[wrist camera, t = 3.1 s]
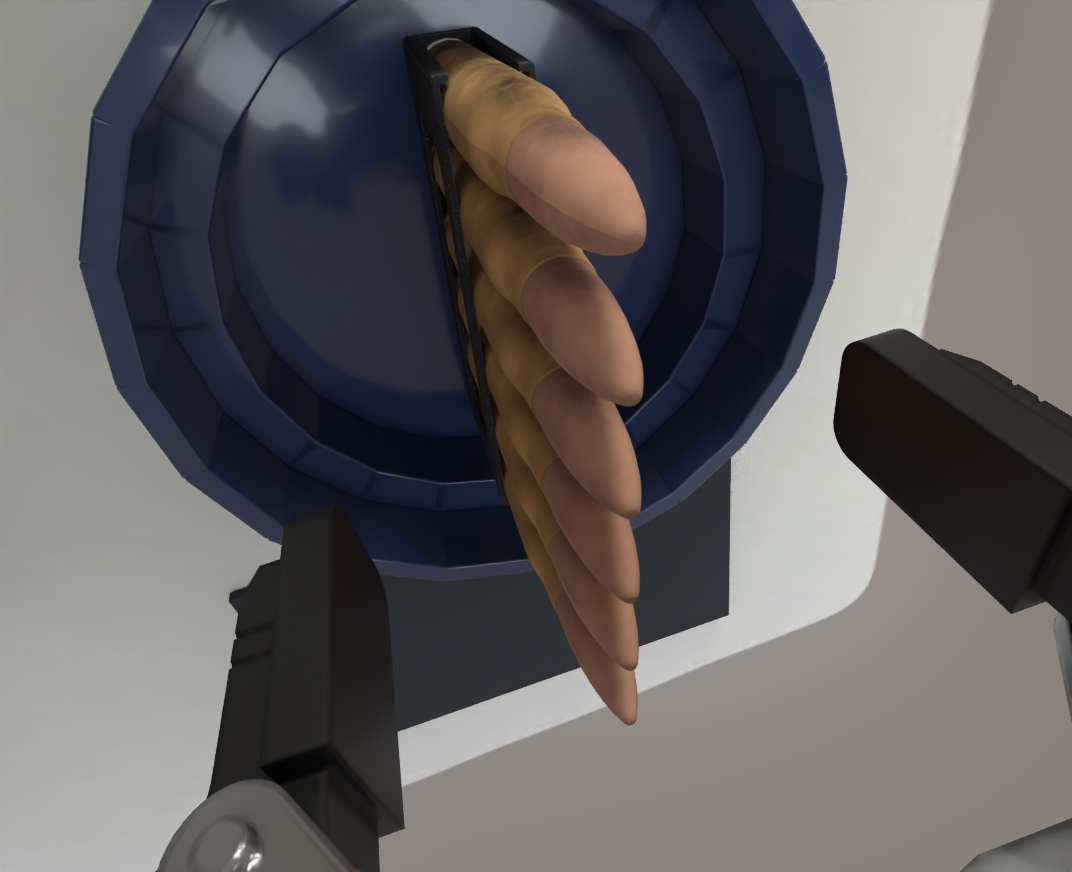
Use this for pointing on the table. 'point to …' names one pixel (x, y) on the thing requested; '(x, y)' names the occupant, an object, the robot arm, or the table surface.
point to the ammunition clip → (541, 327)
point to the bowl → (439, 249)
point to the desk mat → (547, 612)
